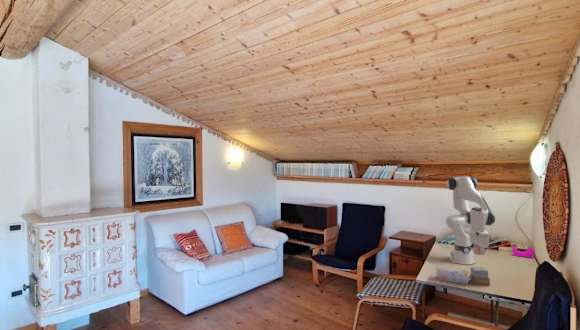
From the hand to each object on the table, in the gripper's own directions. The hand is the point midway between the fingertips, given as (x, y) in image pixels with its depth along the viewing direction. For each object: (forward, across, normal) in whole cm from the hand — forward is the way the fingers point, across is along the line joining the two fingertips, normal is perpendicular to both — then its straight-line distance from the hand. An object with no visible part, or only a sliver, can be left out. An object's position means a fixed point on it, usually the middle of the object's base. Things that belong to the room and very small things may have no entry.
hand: (479, 251), depth 231 cm
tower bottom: (+22, 0, 0) cm, 22 cm away
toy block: (+22, -71, +71) cm, 102 cm away
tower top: (+17, 0, 0) cm, 17 cm away
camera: (+22, -95, +46) cm, 108 cm away
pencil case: (+22, -2, -18) cm, 28 cm away
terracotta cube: (+2, 0, 0) cm, 2 cm away
